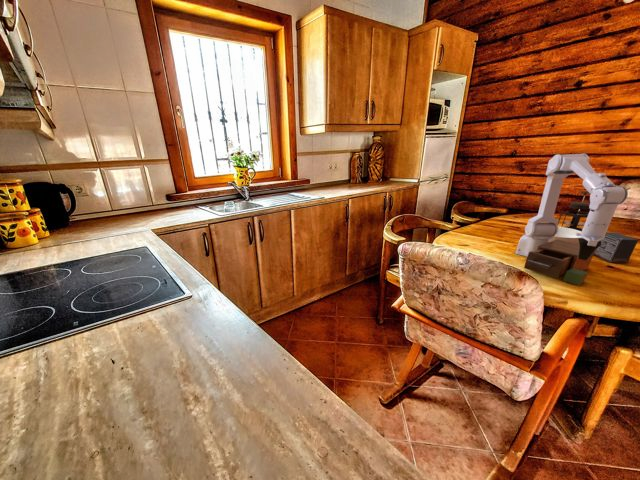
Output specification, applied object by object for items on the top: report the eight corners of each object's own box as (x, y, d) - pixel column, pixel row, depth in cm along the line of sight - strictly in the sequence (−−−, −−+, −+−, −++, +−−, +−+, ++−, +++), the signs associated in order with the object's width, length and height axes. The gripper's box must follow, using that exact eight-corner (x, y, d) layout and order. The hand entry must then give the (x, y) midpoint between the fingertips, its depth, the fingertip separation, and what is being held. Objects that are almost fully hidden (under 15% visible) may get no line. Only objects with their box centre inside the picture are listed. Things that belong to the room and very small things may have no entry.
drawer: (551, 281, 104) (558, 263, 101) (517, 270, 113) (522, 253, 110) (575, 270, 110) (582, 253, 107) (541, 261, 120) (547, 245, 117)
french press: (582, 233, 150) (599, 190, 141) (585, 238, 144) (603, 193, 134) (553, 230, 157) (568, 189, 148) (554, 235, 150) (569, 192, 141)
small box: (629, 263, 116) (640, 239, 111) (610, 262, 117) (620, 239, 113) (607, 254, 125) (617, 231, 121) (590, 253, 126) (599, 231, 122)
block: (562, 281, 105) (566, 270, 103) (568, 278, 107) (572, 268, 105) (577, 285, 102) (582, 275, 100) (583, 282, 103) (588, 272, 101)
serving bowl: (577, 254, 126) (583, 240, 123) (520, 244, 141) (524, 231, 138) (585, 243, 138) (590, 230, 135) (531, 234, 153) (535, 222, 150)
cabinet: (569, 276, 108) (577, 255, 104) (531, 265, 118) (538, 245, 115) (587, 268, 113) (596, 247, 110) (550, 258, 124) (557, 239, 120)
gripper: (580, 216, 102) (567, 250, 108) (581, 226, 93) (567, 262, 98) (608, 219, 98) (593, 254, 103) (612, 229, 88) (596, 267, 94)
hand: (582, 259), depth 100 cm, fingers closed
